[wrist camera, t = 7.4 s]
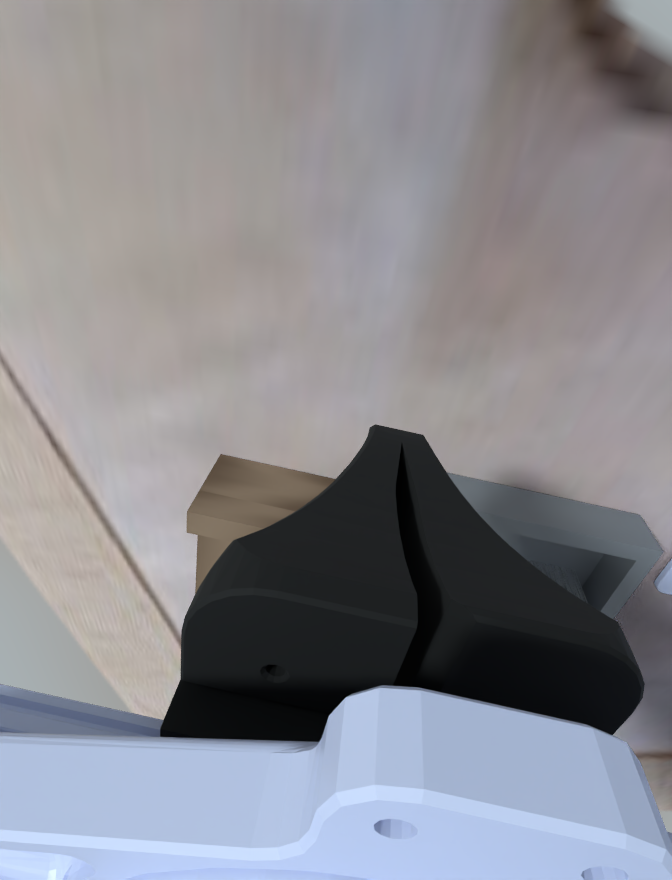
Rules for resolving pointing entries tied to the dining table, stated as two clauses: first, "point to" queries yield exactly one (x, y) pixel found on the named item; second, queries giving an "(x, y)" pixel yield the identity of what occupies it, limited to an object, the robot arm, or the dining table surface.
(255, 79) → the dining table surface
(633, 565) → the tray
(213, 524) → the slot block
